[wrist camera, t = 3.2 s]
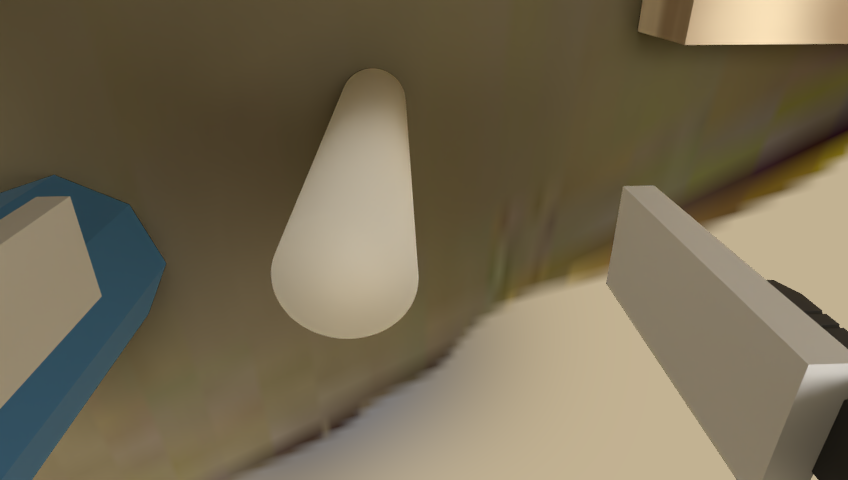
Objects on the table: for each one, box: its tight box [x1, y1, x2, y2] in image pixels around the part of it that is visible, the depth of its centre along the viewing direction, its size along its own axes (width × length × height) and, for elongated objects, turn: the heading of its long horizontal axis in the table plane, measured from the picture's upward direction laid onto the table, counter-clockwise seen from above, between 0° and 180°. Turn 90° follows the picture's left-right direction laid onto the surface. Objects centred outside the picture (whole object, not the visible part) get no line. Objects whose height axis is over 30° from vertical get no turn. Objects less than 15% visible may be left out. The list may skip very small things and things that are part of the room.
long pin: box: [271, 68, 419, 339], centre depth 18 cm, size 3×3×16 cm
